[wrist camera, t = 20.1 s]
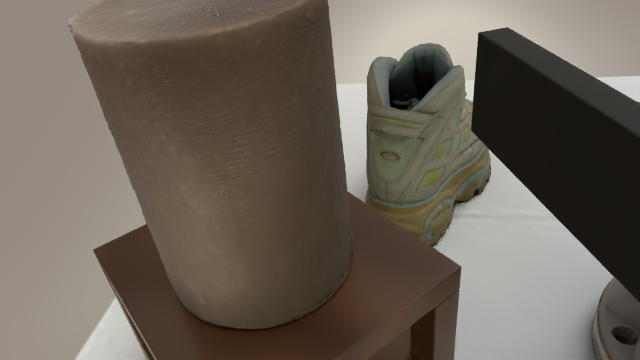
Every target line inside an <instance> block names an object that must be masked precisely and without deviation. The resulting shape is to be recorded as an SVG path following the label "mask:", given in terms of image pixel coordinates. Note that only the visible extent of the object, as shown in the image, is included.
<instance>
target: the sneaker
mask: <svg viewBox="0 0 640 360" xmlns="http://www.w3.org/2000/svg"><path fill="white" fill-rule="evenodd" d="M466 95H467V93H466V92H465V77H464V70H463V67H462V66H460V65H457V66H453V63H452V60H451V58H450V55H449V53H448V52H447V51H446V49H445V48H444V47H443V46H441V45H439V44H432V43H427V44H420V45H418V46H415V47H413V48H411V49H409V50H408V51H407V52H406V53H404V55H403V56H402V58H401V59H400V61H399V62H398V61H397V60H396V59H393V58H391V57H378V58H376V59H375V60H374V61H373V62H372V64H371V66H370V69H369V72H368V76H367V103H368V111H367V168H366V173H367V179H368V191H367V195H366V204H367V205H369V206H370V207H372V208H373V209H375V210H376V211H378V212H379V213H381V214H382V215H384V216H385V217H387V218H388V219H390V220H391V221H393V222H394V223H396V224H397V225H399V226H400V227H402V228H404V229H405V230H407V231H408V232H410V233H411V234H413V235H414V236H416V237H417V238H419V239H420V240H422V241H423V242H425V243H426V244H428V245H431V246H432V245H435V244H436V243H437V242H438V241H439V240H440V236H443V234H444V233H445V231H446V228H447V226H448V225H450V223H451V220H452V210H453V205H454V202H455V200H457V201H466V200H469V199H471V198H472V197H473V195H474V192H476V193H481V192H482V191H483V190H484V188H485V184H486V182H488V181H489V178H490V174H491V172H490V170H491V166H490V155H489V150H488V147H487V146H486V145H485V144H484V143H483V142H482V141H481V140H480V139H479V138H478V137H477V136H476V135H475V134H474V133H473V132H472V131H471V123H472V110H473V102H471V101H469V100H467V99H465V96H466Z"/></svg>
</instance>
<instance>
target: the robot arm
mask: <svg viewBox="0 0 640 360" xmlns="http://www.w3.org/2000/svg"><path fill="white" fill-rule="evenodd" d="M471 131H472V132H473V133H474V134H475V135H476V136H477V137H478V138H479V139H480V140H481V141H482V142H483V143H484V144H485V145H486V146H487V147H488V149H489V150H490V151H491V152H492V153H493V154H494V155H495V156H496V157H497V158H498V159H499V160H500V161H501V162H502V163H503V164H504V165H505V166H506V167H507V168H508V169H509V170H510V171H511V172H512V173H513V174H514V175H515V176H516V177H517V178H518V179H519V180H520V181H521V182H522V183H523V184H524V185H525V186H526V187H527V188H528V189H529V190H530V191H531V192H532V193H533V194H534V195H535V196H536V198H537V199H538V200H539V201H540V202H541V203H542V204H543V205H544V206H545V207H546V208H547V209H548V210H549V211H550V212H551V213H552V214H553V215H554V216H555V217H556V218H557V219H558V220H559V221H560V222H561V223H562V224H563V225H564V226H565V227H566V228H567V229H568V230H569V231H570V232H571V233H572V234H573V235H574V236H575V237H576V238H577V239H578V240H579V241H580V242H581V243H582V244H583V245H584V246H585V248H586V249H587V250H588V251H589V252H590V253H591V254H592V255H593V256H594V257H595V258H596V259H597V260H598V261H599V262H600V263H601V264H602V265H603V266H604V267H605V268H606V269H607V270H608V271H609V272H610V273H611V274H612V275H613V276H614V278H613V279H612V280H611V281H610V282H609V284H608V285H607V286H606V288H605V289H604V291H603V293H602V295H601V298H600V301H599V304H598V307H597V310H596V313H595V317H594V321H593V328H592V336H593V345H594V350H595V353H596V357H597V360H640V102H636V101H634V100H633V99H631V98H629V97H627V96H626V95H624V94H622V93H621V92H619V91H617V90H615V89H614V88H612V87H610V86H608V85H607V84H605V83H603V82H601V81H600V80H598V79H596V78H595V77H593V76H591V75H589V74H588V73H586V72H584V71H582V70H581V69H579V68H577V67H575V66H574V65H572V64H570V63H568V62H567V61H565V60H563V59H562V58H560V57H558V56H556V55H555V54H553V53H551V52H549V51H548V50H546V49H544V48H542V47H541V46H539V45H537V44H536V43H534V42H532V41H530V40H529V39H527V38H525V37H523V36H522V35H520V34H518V33H516V32H515V31H513V30H511V29H509V28H502V29H496V30H491V31H485V32H480V33H478V47H477V58H476V72H475V84H474V97H473V110H472V123H471Z"/></svg>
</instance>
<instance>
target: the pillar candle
mask: <svg viewBox="0 0 640 360" xmlns="http://www.w3.org/2000/svg"><path fill="white" fill-rule="evenodd" d="M67 25H68V26H69V27H70V28H71V30H70V31H71V33H72V34H73V36H74V40H75V42H76V44H77V46H78V49H79V51H80V53H81V57H82V60H83V63H84V65H85V67H86V69H87V72H88V74H89V76H90V79H91V81H92V84H93V87H94V89H95V91H96V94H97V97H98V100H99V102H100V105H101V108H102V111H103V113H104V117H105V119H106V121H107V123H108V127H109V129H110V131H111V133H112V135H113V137H114V140H115V143H116V146H117V149H118V151H119V153H120V154H121V157H122V160H123V163H124V166H125V169H126V171H127V174H128V176H129V180H130V183H131V185H132V188H133V189H134V191H135V193H136V196H137V198H138V201H139V203H140V206H141V208H142V212H143V215H144V217H145V220H146V224H147V226H148V228H149V230H150V232H151V234H152V237H153V239H154V242H155V244H156V247H157V249H158V251H159V254H160V258H161V260H162V262H163V264H164V267H165V271H166V274H167V276H168V278H169V281H170V282H171V285H172V287H173V289H174V291H175V293H176V295H177V296H178V298H179V300H180V301H181V303H182V304H183V305H184V306H185V307H186V308H187V309H188V310H189V311H190V312H192V313H193V314H194V315H195V316H197V317H198V318H200V319H202V320H204V321H206V322H210V323H211V324H215V325H219V326H226V327H233V328H241V329H262V328H270V327H274V326H277V325H283V324H286V323H288V322H291V321H293V320H295V319H298V318H302V317H303V316H304V315H306V313H310V312H311V311H313V310H315V309H316V308H318V307H319V306H321V305H322V304H323V303H324V302H326V301H327V300H328V299H329V298H330V297H331V296H332V295H333V293H334V292H336V291H337V289H338V288H339V287H340V286H341V285H342V284H343V282H344V281H345V279H346V278H347V275H348V274H349V272H350V269H351V267H350V262H351V259H350V257H351V253H352V252H353V236H352V230H351V221H350V214H349V207H348V202H349V199H348V193H347V183H346V172H345V162H344V154H343V144H342V137H341V129H340V118H339V108H338V100H337V92H336V79H335V70H334V59H333V48H332V37H331V27H330V19H329V6H328V1H327V0H101V1H98V2H96V3H94V4H92V5H91V6H89V7H87V8H86V9H84V10H83V11H82V12H79V13H78V14H77V15H76V16H73V17H71V18H70V19H68V20H67Z"/></svg>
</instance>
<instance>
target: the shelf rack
mask: <svg viewBox="0 0 640 360" xmlns="http://www.w3.org/2000/svg"><path fill="white" fill-rule="evenodd" d="M347 193H348V199H349V202H348V207H349V214H350V221H351V230H352V236H353V252H352V253H351V257H350V259H351V262H350V267H351V269H350V272H349V274H348V275H347V278H346V279H345V281H344V282H343V284H342V285H341V286H340V287H339V288H338V289H337V291H336V292H334V293H333V295H332V296H331V297H330V298H329V299H328V300H327V301H326V302H324V303H323V304H322V305H321V306H319V307H318V308H316V309H315V310H313V311H311V312H310V313H306V315H304V316H303V317H302V318H298V319H295V320H293V321H291V322H288V323H286V324H283V325H277V326H274V327H270V328H262V329H241V328H233V327H226V326H219V325H215V324H211V323H210V322H206V321H204V320H202V319H200V318H198V317H197V316H195V315H194V314H193V313H192V312H190V311H189V310H188V309H187V308H186V307H185V306H184V305H183V304H182V303H181V301H180V300H179V298H178V296H177V295H176V293H175V291H174V289H173V287H172V285H171V282H170V281H169V278H168V276H167V274H166V271H165V267H164V264H163V262H162V260H161V258H160V254H159V251H158V249H157V247H156V244H155V242H154V239H153V237H152V234H151V232H150V230H149V228H148V226H147V224H146V225H144V226H142V227H139V228H138V229H135V230H133V231H131V232H129V233H127V234H125V235H123V236H121V237H119V238H117V239H114V240H112V241H110V242H109V243H106V244H104V245H102V246H100V247H98V248H96V249H94V253H95V255H96V257H97V259H98V261H99V263H100V265H101V267H102V269H103V271H104V273H105V275H106V277H107V279H108V281H109V283H110V285H111V288H112V290H113V291H114V293H115V296H116V298H117V300H118V302H119V304H120V306H121V308H122V310H123V312H124V314H125V316H126V318H127V320H128V322H129V324H130V326H131V328H132V330H133V332H134V334H135V336H136V338H137V340H138V342H139V344H140V346H141V348H142V351H143V353H144V355H145V357H146V359H147V360H454V348H455V336H456V324H457V311H458V299H459V287H460V276H461V266H460V265H458V264H457V263H455V262H454V261H452V260H451V259H449V258H448V257H446V256H445V255H443V254H442V253H440V252H439V251H437V250H435V249H434V248H432V247H431V246H429V245H428V244H426V243H425V242H423V241H422V240H420V239H419V238H417V237H416V236H414V235H413V234H411V233H410V232H408V231H407V230H405V229H404V228H402V227H400V226H399V225H397V224H396V223H394V222H393V221H391V220H390V219H388V218H387V217H385V216H384V215H382V214H381V213H379V212H378V211H376V210H375V209H373V208H372V207H370V206H369V205H367V204H365V203H364V202H362V201H361V200H359V199H358V198H356V197H355V196H353V195H352V194H350V193H349V192H347Z"/></svg>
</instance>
